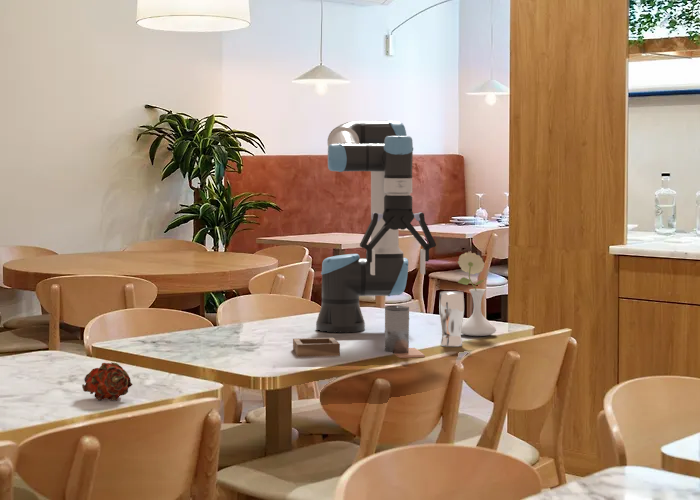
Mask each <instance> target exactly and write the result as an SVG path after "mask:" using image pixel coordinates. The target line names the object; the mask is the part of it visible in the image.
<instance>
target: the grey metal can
mask: <svg viewBox="0 0 700 500" xmlns="http://www.w3.org/2000/svg"><path fill="white" fill-rule="evenodd" d="M409 337H410V307H409V306H407V305H386V306H384V352H387V353H392V354H394V355H395V354H403V353H408V352H409V348H410V345H409V344H410V343H409V341H410V340H409V339H410V338H409Z"/></svg>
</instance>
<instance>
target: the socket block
mask: <svg viewBox="0 0 700 500" xmlns="http://www.w3.org/2000/svg"><path fill="white" fill-rule="evenodd" d="M340 344H341V343H340V342H339V341H337V340H336V339H335V338H334V337H308V338H307V337H306V338H305V337H304V338H302V337H301V338H292V351H293V352H294V354H295V355H296V356H297V357H329V356H333V357H335V356H340V355H341V354H340V353H341V352H340V351H341V345H340Z"/></svg>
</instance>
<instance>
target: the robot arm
mask: <svg viewBox="0 0 700 500" xmlns="http://www.w3.org/2000/svg"><path fill="white" fill-rule="evenodd" d="M413 143H414V142H413V138H412V137H411V136H409V135H407V130H406V127H405V125H404V123H403V122H401V121H397V120H394V121H393V120H353V121H348V122H344V123H342V124H339V125H337V126H336V127H335V128H333V129H332V130H331V131H330V133H329V134H328V136H327V169H328V170H329V171H330V172H339V173H343V172H370V223H369V224H368V227H367V229H366V230H365V232H364V235H363V236H362V239H361V241H360V243H359V247H360V248H362V249H364V250H366V253H365V258H361V257H360V254H358V253H348V254H341V255H340V254H339V255H334V256H328V257H326V258H324V259H323V261H322V263H321V271H320V274H321V306H320V310H319V312H318V316H317V318H316V325H315V327H316V328H315V329H317V330H316V331H318V330H320V331H319V332H323V331H327V332H326V333H336V332H345V333H355V332H356V333H359V332H362V331H365V330H366V323H365V320H364V316H363V313H362V309H361V306H360V297H361V296H362V297H363V296H364V297H365V296H368V297H371V296H372V297H374V296H375V297H376V296H377V297H384V296H387V297H391V296H401V295H402V294H404V292H405V289H406V286H407V280H408V276H409V275H408V274H409V273H408V272H409V259H408V258H407V257H404V251H403V250H402V249H401V248H400V245H399V230H402V231H406V229H407V230H408V231H409V233H410V234H411V235H412V237H414V239H415V240H416V241H417V242H418V244H420V247H422V248H421V249H420V251H419V252H420V253H419V255H420V258H419V259H420V261H419V266H420V267H419V268H420V269H419V273H420V274H421V275H426V262H429V261H430V249H431V248H435V247H437V243H436V241H435V240H434V237H433V234H432V233H431V230H430V228H429V227H428V224H427V222H426V220H425V213H424V212H422V211H421V212H419V211H418V213H416V212H415V213H414V212H413V196H412V195H411V194H413V161H414V159H413V157H414V156H413V154H414V153H413V152H414V147H413ZM414 219H415V220H416V222H418V223H419V224H418V225H419V226H420V228H421V230H422V232H423V234H424V236H425V238H426V240H427V242H426V240H425V239H424V238H423V237H422V236H421V234H420V233H419V232H418V230H417V229H415V227H414V226H413V224H412V222H413V220H414Z"/></svg>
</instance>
